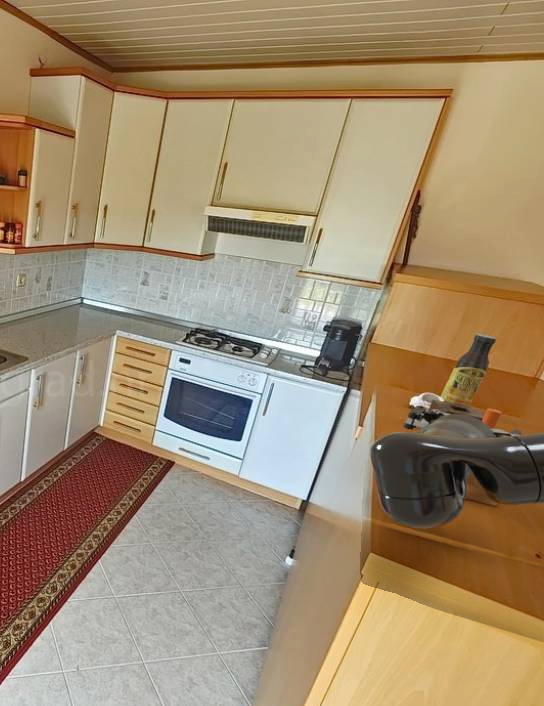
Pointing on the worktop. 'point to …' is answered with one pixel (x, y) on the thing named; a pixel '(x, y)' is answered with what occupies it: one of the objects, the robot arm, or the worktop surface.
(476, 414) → the block
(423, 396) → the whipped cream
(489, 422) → the orange rod
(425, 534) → the worktop surface
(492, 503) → the stand
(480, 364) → the sauce bottle
